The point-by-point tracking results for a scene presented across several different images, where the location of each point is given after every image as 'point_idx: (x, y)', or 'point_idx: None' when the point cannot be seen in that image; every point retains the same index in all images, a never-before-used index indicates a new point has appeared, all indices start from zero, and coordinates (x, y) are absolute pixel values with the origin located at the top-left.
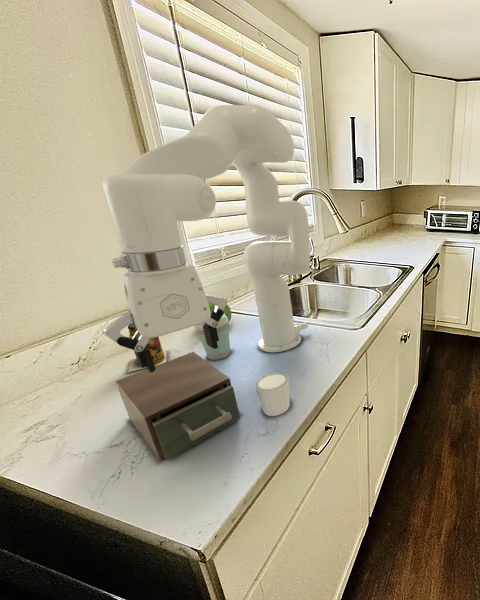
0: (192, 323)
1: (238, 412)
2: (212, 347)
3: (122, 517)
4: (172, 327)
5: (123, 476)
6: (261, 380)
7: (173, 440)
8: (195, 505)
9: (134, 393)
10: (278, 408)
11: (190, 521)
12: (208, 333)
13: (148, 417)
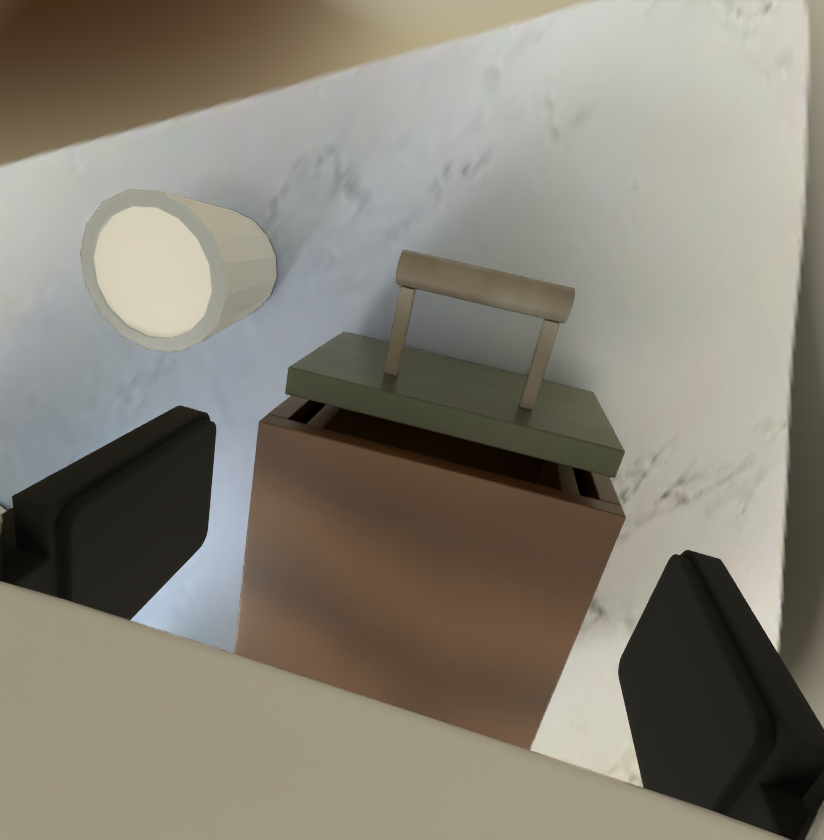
0: (117, 656)
1: (336, 336)
2: (211, 442)
3: (791, 322)
4: (504, 835)
5: (674, 471)
6: (175, 331)
7: (567, 402)
8: (687, 134)
9: (526, 692)
10: (235, 214)
11: (742, 86)
12: (114, 531)
13: (611, 510)
